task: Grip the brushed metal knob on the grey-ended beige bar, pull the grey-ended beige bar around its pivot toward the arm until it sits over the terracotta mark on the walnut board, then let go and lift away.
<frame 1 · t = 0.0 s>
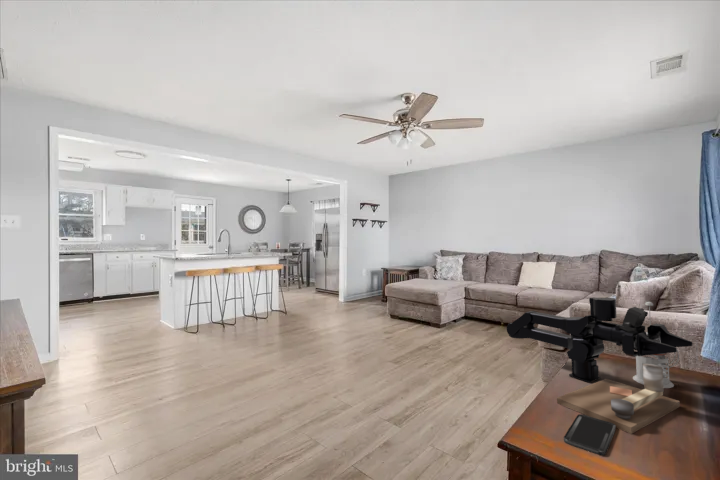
hand: (684, 346, 87), 17 cm above the table, tool horizontal, fingers open, 9 cm apart
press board: (617, 404, 91), on the table
french press: (656, 382, 104), on the table
phone: (590, 437, 78), on the table
grey-ended beige bar: (638, 387, 86), point 7 cm above the table, hinge at 0.0°
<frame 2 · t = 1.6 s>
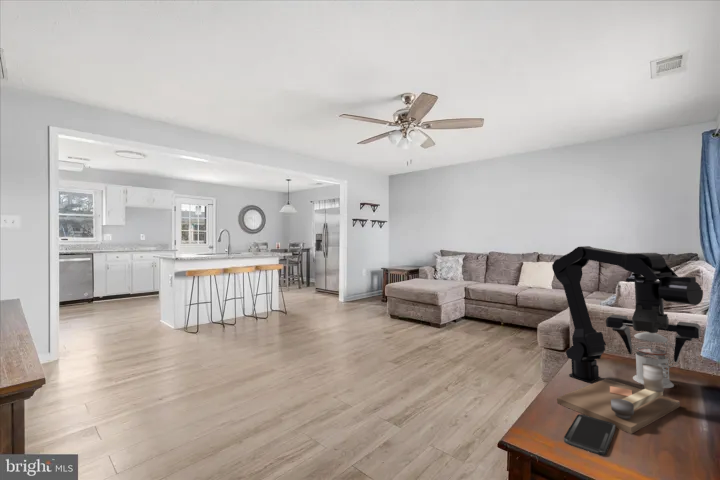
hand: (652, 357, 90), 13 cm above the table, tool pointing down, fingers open, 9 cm apart
nothing on the table moved.
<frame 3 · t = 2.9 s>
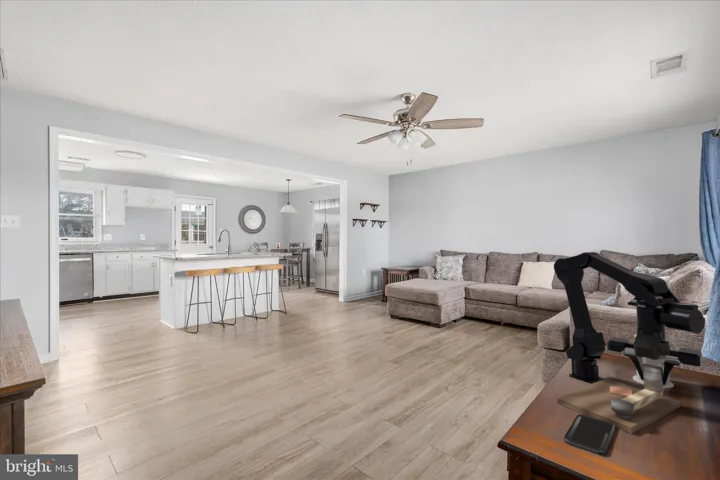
hand: (653, 382, 90), 6 cm above the table, tool pointing down, fingers closed on grey-ended beige bar, 4 cm apart
grey-ended beige bar: (638, 387, 86), point 7 cm above the table, hinge at 0.0°, touching gripper
everything else where it was.
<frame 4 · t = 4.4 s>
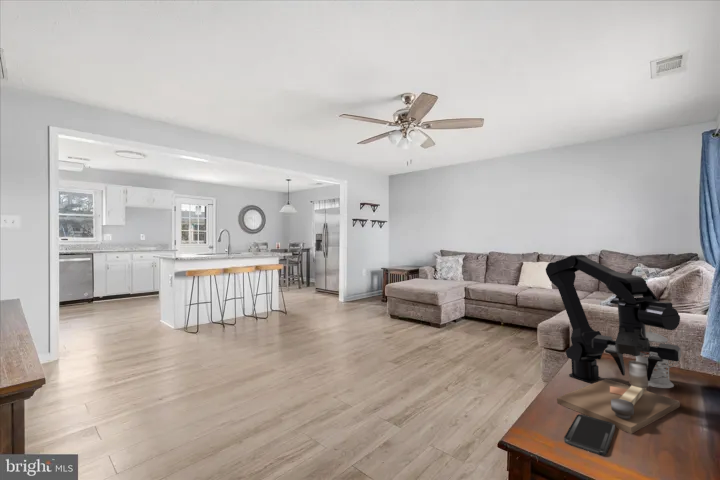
hand: (635, 377, 93), 6 cm above the table, tool pointing down, fingers open, 5 cm apart
grey-ended beige bar: (630, 385, 87), point 7 cm above the table, hinge at 11.5°, touching gripper
everything else where it was.
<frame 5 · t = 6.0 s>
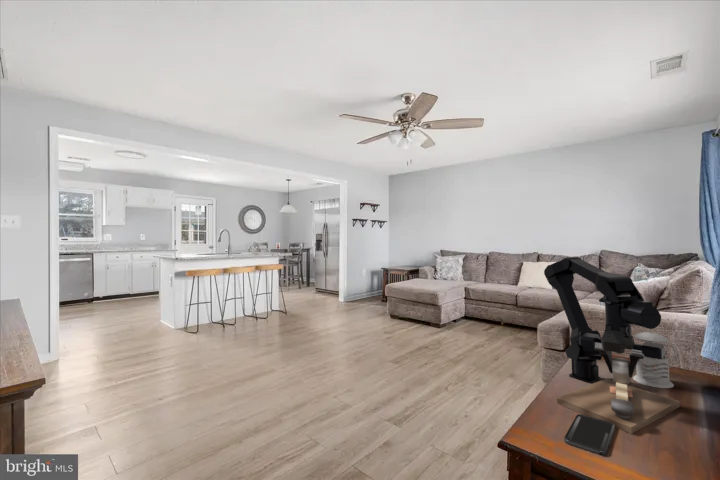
hand: (621, 374, 95), 6 cm above the table, tool pointing down, fingers closed on grey-ended beige bar, 4 cm apart
grey-ended beige bar: (621, 383, 89), point 7 cm above the table, hinge at 25.2°, touching gripper
everything else where it was.
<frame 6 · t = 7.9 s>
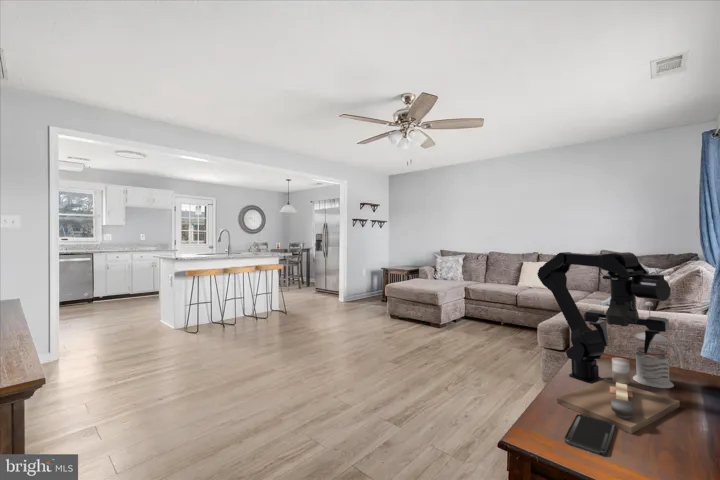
hand: (625, 349, 97), 13 cm above the table, tool pointing down, fingers open, 9 cm apart
grey-ended beige bar: (621, 383, 89), point 7 cm above the table, hinge at 25.2°
everything else where it was.
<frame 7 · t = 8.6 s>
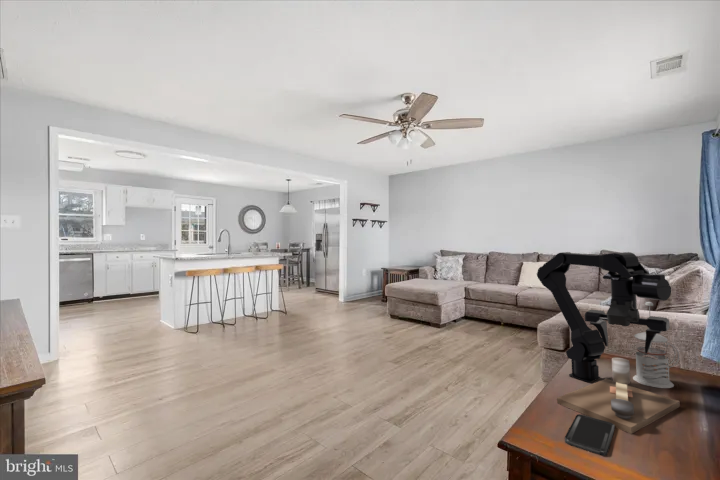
hand: (625, 349, 97), 13 cm above the table, tool pointing down, fingers open, 9 cm apart
nothing on the table moved.
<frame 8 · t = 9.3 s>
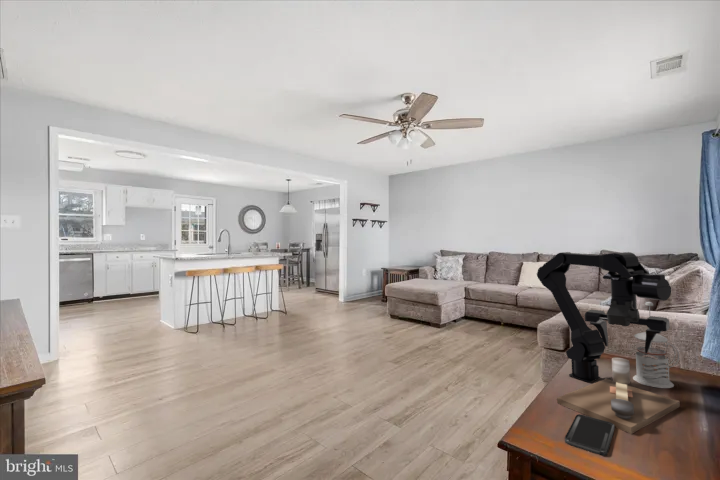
hand: (625, 349, 97), 13 cm above the table, tool pointing down, fingers open, 9 cm apart
nothing on the table moved.
at the end: grey-ended beige bar at +25° (first picture: +0°); the gripper is holding nothing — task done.
